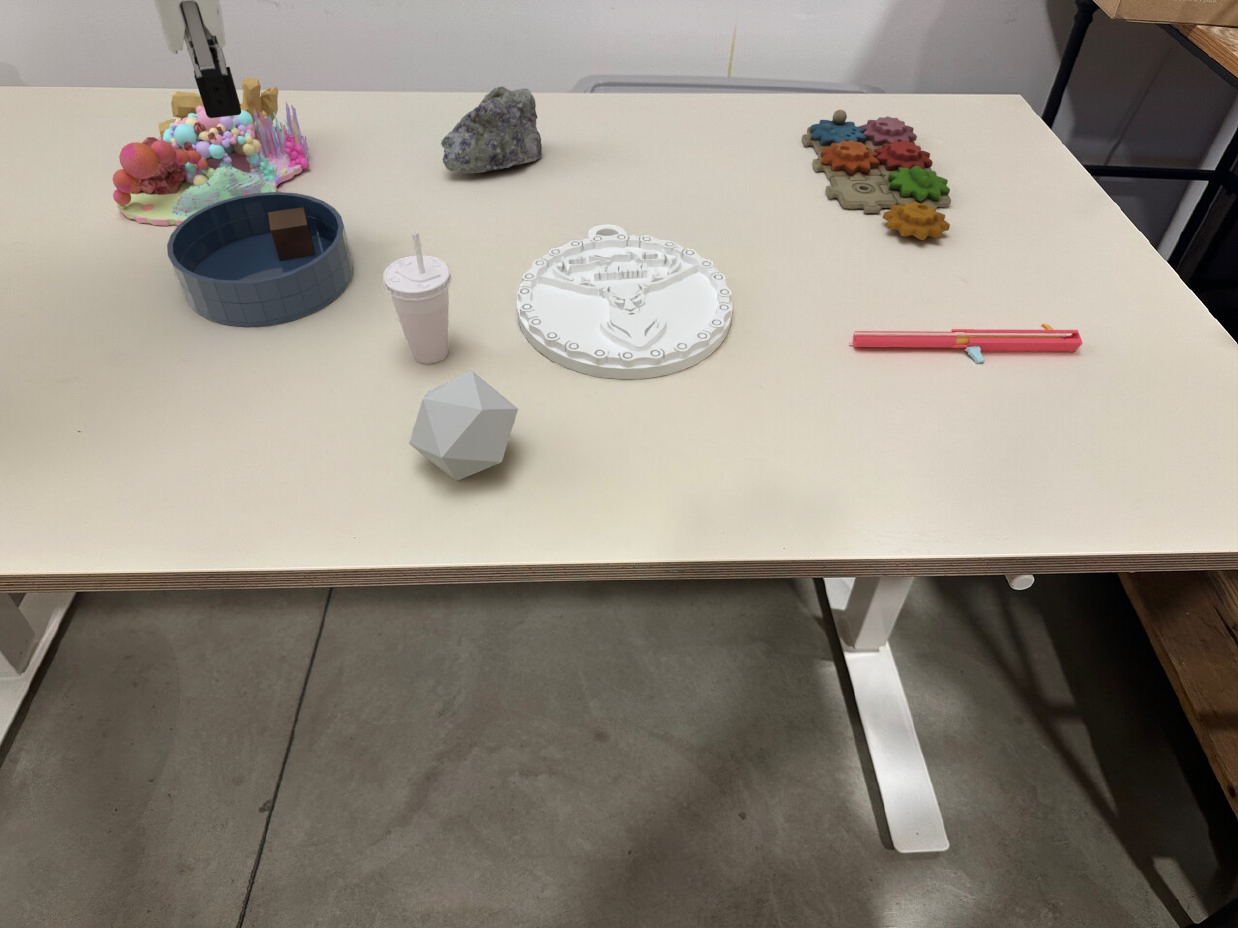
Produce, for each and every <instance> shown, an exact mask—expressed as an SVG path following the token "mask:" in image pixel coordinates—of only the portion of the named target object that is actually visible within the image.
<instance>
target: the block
mask: <svg viewBox="0 0 1238 928" xmlns="http://www.w3.org/2000/svg"><path fill="white" fill-rule="evenodd" d="M268 218H269V224H270V231H271V234H272V237H273V240H274V244H275V247H276V250H277V254H278V257H279V260H280V261H281V260H288V259H294V258H300V257H306V256H312V255H315V250H314V245H313V240H312V236H311V232H310V228H309V224H308V221H307V217H306V213H305V209H304V207H300V208H294V209H287V210H281V211H274V212H268Z"/></svg>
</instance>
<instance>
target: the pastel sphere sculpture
mask: <svg viewBox="0 0 1238 928" xmlns="http://www.w3.org/2000/svg"><path fill="white" fill-rule="evenodd" d="M240 82H241V89H242V103H240V108H241V114H240V115H235V116H226V117H218V118H209V117H208V116H207V115H206V112H205V109H204V106H203V102H202V99H201V96H200V94H197V93H195V92H189V91H188V92H187V91H176V92H175V93H173V94H172V95H171V102H170V105H171V112H172V117H174V119H167V120H165V121H162V122H159V123H158V132H159V135H160V136H159V137H158V138H157V137H154V136H150V137H149V136H148V137H146V138H145V139H144V140H142V142H139V141H138V142H137V141H135V142H134V141H133V142H130V143H127V144H126V145H124V146H123V147H122V148H121V151H120V153H119V156H118V158H119V164H120V166H121V167H122V168H120V169H117V171H115V172H114V174H113V175H112V183H113V186H114V187H115V188H116V189H115V190H114V191H113V193H112V198H113V200H114V201H115V203H116V207H117V209H118V210H119V212H120V213H121V214H123V215H124V216H125V217H126V218H127V219H128V220H135V221H136V222H137V223H139V224H151V225H153V226H166V227H169V226H172V225H173V226H174V225H176V227H178V225H180V223H182V222H183V221H184V220H186V219H187V218H188V217H189V216H191V215H192V214H194V213H196V212H198V211H199V210H201V209H203V208H205V207H207V206H210V205H212V204H215V203H217V202H220V201H223V200H226V199H230V198H233V197H237V196H242V195H248V194H255V193H266V192H278V188H277V187H278V185H280V184H281V183H283V182H286V181H288V180H291V179H293V178H294V176H295V175H298V174H300V173H302V171H303V170H304V169H307V168H308V167H309V162H310V159H309V158H310V157H311V155H310V152H309V151H310V149H309V145H308V140H307V136H306V135H305V136H304V135H302V132H301V129H300V125H299V124H300V123H299V121H298V120H299V119H298V116H297V111H296V107H294V106H293V104H290V107H289V104H288V102H287V101H285V111H286V113H285V115H286V117H285V118H283V119H284V123H285V124H283V123H282V121H279V120H278V118H277V114H278V111H279V104H278V100H279V99H278V97H279V89H278V88H277V86H272V87H269V88H267V89H265V90H263V91H262V92H261V88H262V87H261V84H260V81H259V78H252V77H247V78H245V79H241V80H240ZM290 108H291V110H290ZM291 112H292V115H291ZM274 120H275V125H274Z"/></svg>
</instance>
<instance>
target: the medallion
mask: <svg viewBox="0 0 1238 928" xmlns="http://www.w3.org/2000/svg"><path fill="white" fill-rule="evenodd" d="M714 264H715V263H714V262H713V261H712V260H710V259H707V258H704V257H702V256H701V255H699V253H698V252H697V251H696V250H695V249H693V248H686V247H684V246H682V245H679V244H677V243H676V242H675V241H673V240H670V239H669V240H668V239H667V240H666V239H665V240H664V239H659V238H655V237H653V236H652V235H649V234H645V235H632V234H627V232H626V229H624V228H623V227H621V226H618V225H615V224H609V223H607V224H604V223H603V224H598V225H595V226H593V227H592V228H590V229H589V230H588V232H587V238H584V239H583V238H582V239H580V240H579V239H572V240H570V241H568V242H567V243H566V244H564V245H561V246H559V247H551V248H550V249H549V250H548V253H546V254H545V255H544V256H542V257H540V258H536V259H534V260H533V261H532V266H531V267H530V269H529V270H527V271H525V272H524V273H523V274H522V275H521V277H522V278H521V280H522V281H521V283H520V285H519V288H518V289H517V294H516V314H517V320H518V323H519V328H520V330H521V332H522V333H523V335H524V337H525V339H526V340H527V342H528V343H530V345H531V346H532V347H533V348H534V349H535V350H536V351H537V352H539V353H540V354H541V355H542V356H544V357H546V358H547V359H549V360H550V361H552V362H553V363H556V364H558V365H560V366H562V367H564V368H566V369H568V370H572V371H574V372H577V373H580V374H583V375H589V376H593V377H597V378H598V377H599V378H603V379H613V380H644V379H652V378H659V377H665V376H668V375H672V374H674V373H678V372H682V371H684V370H687V369H689V368H691V367H693V366H695V365H697V364H699V363H700V362H702V361H704V360H705V359H708V358H709V357H710V356H711V355H713V353H714V352H715V351H716V350H717V349H718V348H719V347H721V345H722V343H723V342H724V340H726V337H727V336H728V333H729V330H730V327H731V324H732V317H733V307H734V306H733V305H734V304H733V298H732V297H733V296H732V295H733V291H732V290H731V289H730V288H729V287H728V285H727V283H726V280H727V279H726V275H725V274H723V273H722V272H720V271H719V270H717V268H716V267H715V265H714Z"/></svg>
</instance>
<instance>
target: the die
mask: <svg viewBox="0 0 1238 928" xmlns="http://www.w3.org/2000/svg"><path fill="white" fill-rule="evenodd" d="M421 400H422V401H421V404H420V406H419V410H418V413H417V417H416V419H415V423H414V426H413V428H412V432H411V436H410V439H409V443H408V444H409V446H411V447H413V449H415V450H416V451H417V452H419V453H420V454H421V455H422V456H423V457H425V458H426V459H427V460H429V461H430V462H432V464H434V465H435V466H436V467H438V468H439V469H440V470H441V471H442V472H444V473H445V474H446V475H448V476H449V477H450V478H451V479H453V480H454V481H455V482H459V481H460V480H463V479H465V478H468V477H470V476H472V475H475V474H477V473H479V472H483V471H485V470H487V469H489V468H491V467H493V466H496V465H498V464H501V463H502V462H503V459H504V456H505V452H506V450H507V446H508V444H509V440H510V437H511V434H512V431H513V427H514V424H515V421H516V418H517V414H518V411H519V408H518V407H517V406H516V405H514V403H512V402H511V401H510V400H509V399H507V397H505V396H504V395H503V394H502V393H500V392H499V391H498V390H497V389H495V388H494V387H493V386H492V385H491V384H489V382H487V381H486V380H485V379H483V378H482V377H481V376H480V375H478V374H477V373H476V372H475V371H474V370H473V369H471V370H468V371H466V372H465V373H463V374H460V375H458V376H456V377H454V378H452V379H450V380H448V381H446V382H444V383H442V384H440V385H438V386H436V387H434V388H431V389H430V390H428V391H427V392H426V393H425V394H424V396H423V397H422V399H421Z"/></svg>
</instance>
